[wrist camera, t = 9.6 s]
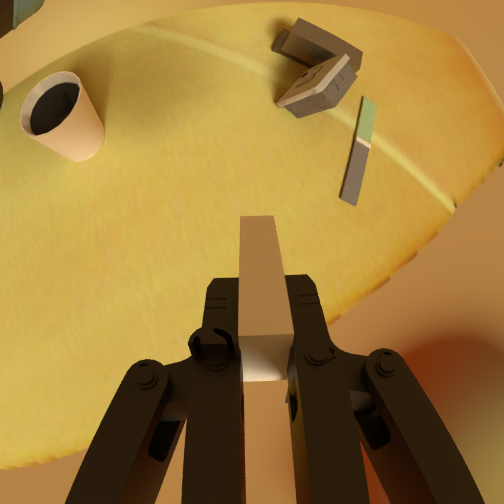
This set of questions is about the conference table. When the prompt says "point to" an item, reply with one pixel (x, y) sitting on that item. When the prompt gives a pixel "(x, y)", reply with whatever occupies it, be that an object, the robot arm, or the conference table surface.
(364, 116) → the green and grey strip
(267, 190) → the conference table surface
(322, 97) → the electrical switch
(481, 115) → the conference table surface
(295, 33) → the block
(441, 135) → the conference table surface
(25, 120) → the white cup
